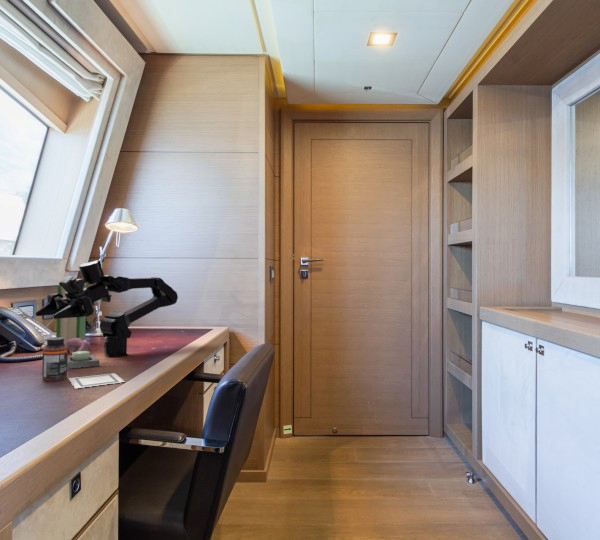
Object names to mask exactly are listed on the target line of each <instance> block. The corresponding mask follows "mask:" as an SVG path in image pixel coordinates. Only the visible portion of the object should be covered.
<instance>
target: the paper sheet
mask: <svg viewBox="0 0 600 540" xmlns="http://www.w3.org/2000/svg"><path fill="white" fill-rule="evenodd" d="M68 381H69V383H70V382H71V383H70V384H71V385H72V387H73V386H74V387H73V388H74V390H79V389H78V388H82V389H86V388H85V387H90V388H93V387H92V386H97V387H100V386H99V385H105V386H108V385H107V384H113V385H116V384H115V383H120V384H122V383H121V382H125V383H126V381H124V379H122V378H121V377H120V376H119V375H117V374H116V373H115V372H113V373H112V372H111V373H104V374H103V373H102V374H96V375H95V374H94V375H87V376H78V377H69V378H68Z"/></svg>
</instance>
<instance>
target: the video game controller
mask: <svg viewBox="0 0 600 540" xmlns="http://www.w3.org/2000/svg"><path fill="white" fill-rule="evenodd" d="M65 345H66V346H67V348H68V349H67V352H68V353H69V354H70V355H72V353H73V352H77V351H88V350H89V349H90V348H91V343H90V342H89V341H87V340H86V338H85V339H82V338H74V339H71V338H70V339H69V340H68V341H66V343H65ZM76 347H79V348H78V349H76Z"/></svg>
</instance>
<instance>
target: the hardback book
mask: <svg viewBox="0 0 600 540" xmlns="http://www.w3.org/2000/svg"><path fill="white" fill-rule="evenodd" d="M87 285H88V283H85V285H84V287H83V288H86V287H88V286H87ZM57 293H59V294H61V295H63V298H67V297H66V296H65V293H67V292H66V291H65V290H64V288H63V287H62V286H60V285H59V284H57ZM86 319H87V317H85V316H84V317H73V318H59V319H56V329H55V330H56V333H55V335H56V336H55V337H63V338H64V344H65V343H66V341H68V340H69V339H70V338H71V339H74V338H82V339H85V340H86V321H87V320H86ZM78 348H79V347H76V349H78Z"/></svg>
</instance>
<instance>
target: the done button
mask: <svg viewBox="0 0 600 540" xmlns="http://www.w3.org/2000/svg"><path fill="white" fill-rule="evenodd" d="M90 355H91V352H90V351H88V350H87V351H77V352H73V353H72V354H71V357H72V361H73V362H74V361H84V360H90Z"/></svg>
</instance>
